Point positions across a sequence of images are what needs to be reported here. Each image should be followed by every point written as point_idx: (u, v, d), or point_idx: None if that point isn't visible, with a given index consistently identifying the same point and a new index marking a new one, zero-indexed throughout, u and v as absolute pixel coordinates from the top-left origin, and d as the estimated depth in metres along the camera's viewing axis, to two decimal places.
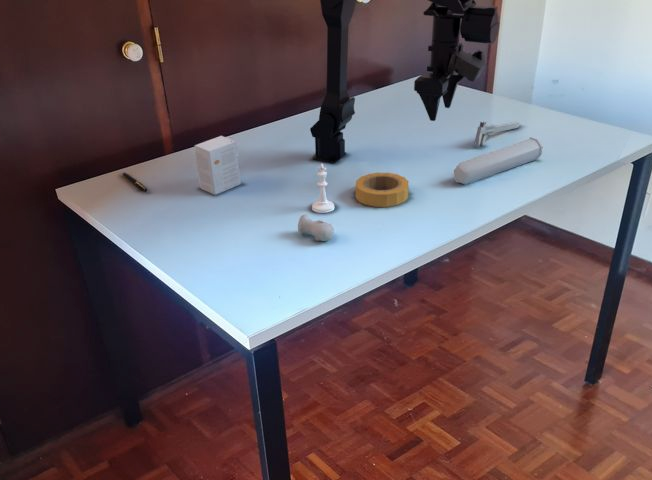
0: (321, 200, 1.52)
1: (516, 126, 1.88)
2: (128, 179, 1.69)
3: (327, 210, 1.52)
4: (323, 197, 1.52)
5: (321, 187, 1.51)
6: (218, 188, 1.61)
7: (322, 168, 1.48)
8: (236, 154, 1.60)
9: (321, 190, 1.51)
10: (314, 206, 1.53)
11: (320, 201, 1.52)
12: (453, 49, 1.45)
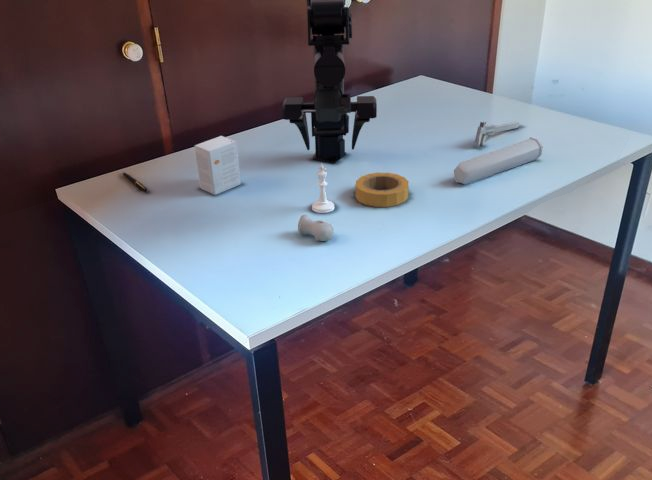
0: (321, 200, 1.52)
1: (516, 126, 1.88)
2: (128, 179, 1.69)
3: (327, 210, 1.52)
4: (323, 197, 1.52)
5: (321, 187, 1.51)
6: (218, 188, 1.61)
7: (322, 168, 1.48)
8: (236, 154, 1.60)
9: (321, 190, 1.51)
10: (314, 206, 1.53)
11: (320, 201, 1.52)
12: (316, 82, 1.37)
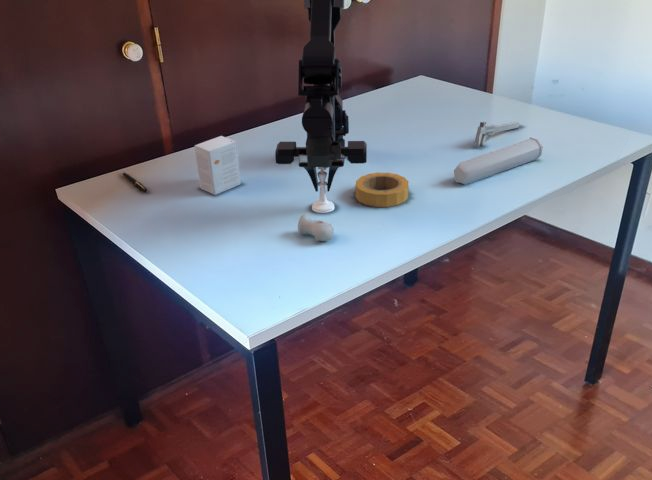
0: (321, 200, 1.52)
1: (516, 126, 1.88)
2: (128, 179, 1.69)
3: (327, 210, 1.52)
4: (323, 197, 1.52)
5: (321, 187, 1.51)
6: (218, 188, 1.61)
7: (322, 168, 1.48)
8: (236, 154, 1.60)
9: (321, 190, 1.51)
10: (314, 206, 1.53)
11: (320, 201, 1.52)
12: None
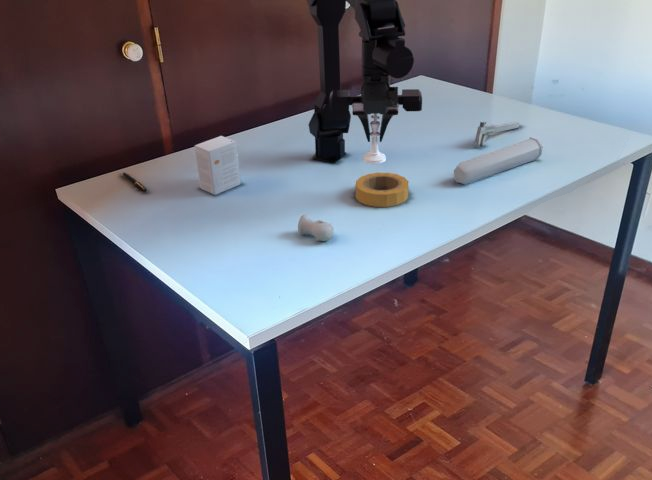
0: (373, 151, 1.50)
1: (516, 126, 1.88)
2: (128, 179, 1.69)
3: (379, 161, 1.50)
4: (375, 148, 1.50)
5: (374, 137, 1.49)
6: (218, 188, 1.61)
7: (375, 117, 1.47)
8: (236, 154, 1.60)
9: (373, 140, 1.49)
10: (365, 157, 1.51)
11: (372, 152, 1.51)
12: (363, 75, 1.39)
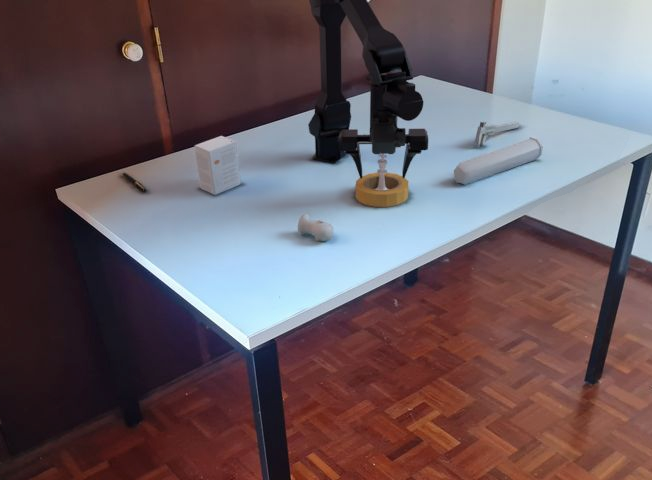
0: (380, 187, 1.56)
1: (516, 126, 1.88)
2: (128, 179, 1.69)
3: None
4: (382, 185, 1.56)
5: (381, 175, 1.55)
6: (218, 188, 1.61)
7: (383, 156, 1.52)
8: (236, 154, 1.60)
9: (381, 178, 1.55)
10: None
11: (379, 188, 1.56)
12: (372, 116, 1.45)
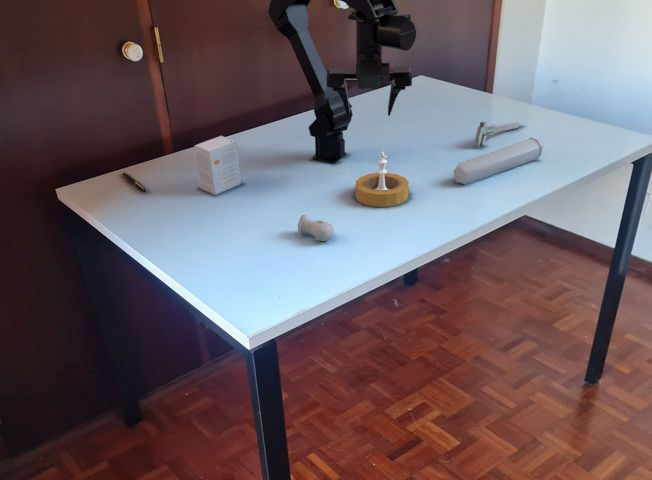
0: (380, 187, 1.56)
1: (516, 126, 1.88)
2: (128, 179, 1.69)
3: None
4: (382, 185, 1.56)
5: (381, 175, 1.55)
6: (218, 188, 1.61)
7: (383, 156, 1.52)
8: (236, 154, 1.60)
9: (381, 178, 1.55)
10: None
11: (379, 188, 1.56)
12: (358, 52, 1.52)
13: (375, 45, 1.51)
